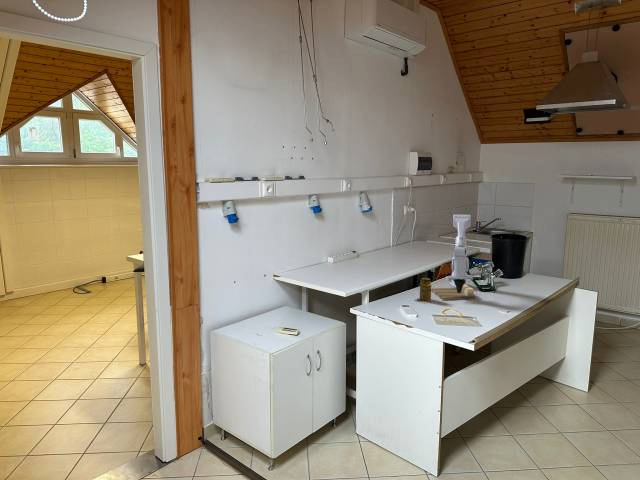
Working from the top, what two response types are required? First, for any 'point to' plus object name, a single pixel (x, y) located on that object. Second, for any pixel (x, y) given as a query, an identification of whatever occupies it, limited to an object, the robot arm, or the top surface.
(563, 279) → the top surface
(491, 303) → the top surface
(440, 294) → the stool seat
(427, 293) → the condiment
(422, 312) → the top surface
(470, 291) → the folding leg
